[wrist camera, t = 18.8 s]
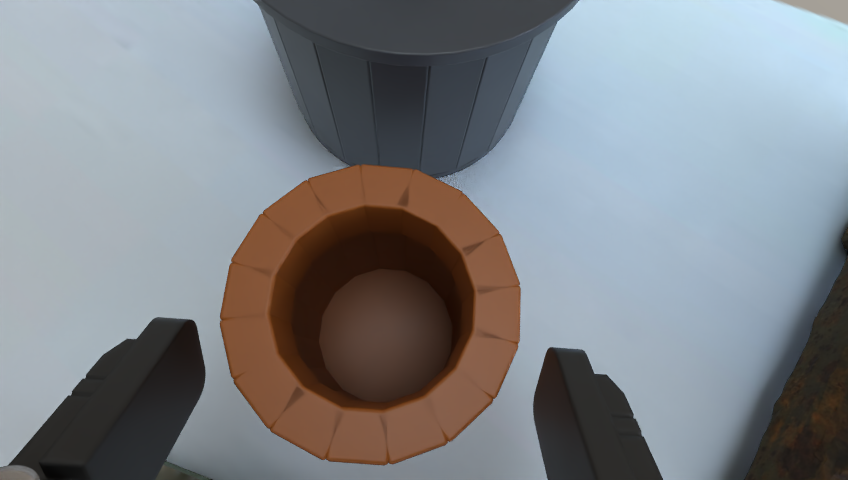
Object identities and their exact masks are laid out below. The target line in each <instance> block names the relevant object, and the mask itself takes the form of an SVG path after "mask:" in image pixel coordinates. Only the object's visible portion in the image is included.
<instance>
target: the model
mask: <svg viewBox="0 0 848 480" xmlns="http://www.w3.org/2000/svg"><path fill="white" fill-rule="evenodd" d="M155 480H211V479H209V478H206V477H204V476H201V475H199V474H196V473H194V472H191V471H189V470H186V469H184V468H181V467H179V466H176V465H174V464H171V463H169V462H166V461H165V462H164V464H163V466H162V468H161V470H160V471H159V473H158V475H157V477H156V479H155Z"/></svg>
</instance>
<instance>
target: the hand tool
mask: <svg viewBox="0 0 848 480" xmlns="http://www.w3.org/2000/svg"><path fill="white" fill-rule="evenodd" d="M841 240H842V243H843V246H844V248H845V249H846V250H847V251H848V228H847V229H846V231H845V233H844V234H843V236H842V238H841ZM744 480H848V256H847V259H846V261H845V264H844V266H843V268H842V270H841V272H840V274H839V276H838V278H837V279H836V281H835V283H834V285H833V287H832V290H831V292H830V294H829V296H828V298H827V300H826V301H825V303H824V305H823V306H822V308H821V309H820V311H819V313H818V315H817V317H815V319H814V322H813V326H812V330H811V333H810V337H809V340H808V342H807V344H806V346H805V348H804V350H803V352H802V354H801V356H800V359H799V361H798V363H797V365H796V367H795V369H794V371H793V373H792V374H791V376H790V378H789V379H788V380H787V382H786V384H785V387H784V389H783V393H782V394H781V396H780V397H779V399H778V400H777V402H776V403H775V405H774V409H773V414H772V418H771V422H770V424H769V427H768V429H767V431H766V432H765V434H764V435H763V437H762V440H761V443H760V446H759V449H758V452H757V454H756V456H755V459H754V461H753V463H752V465H751V468H750V470H749V472H748V474H747V476H746V478H745V479H744Z"/></svg>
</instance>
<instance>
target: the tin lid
mask: <svg viewBox="0 0 848 480" xmlns="http://www.w3.org/2000/svg"><path fill="white" fill-rule="evenodd" d="M254 1H255V2H256V3H257V4H258V5H259V6H260V7H261V8H262V9H263V10H264V11H265V12H266V13H267V14H269V15H270V16H271V17H273V18H274V19H276V20H277V21H278V22H280V23H281V24H283V25H284V26H285V27H287V28H288V29H289V30H291V31H293V32H295V33H297V34H298V35H300V36H302V37H304V38H306V39H307V40H309V41H311V42H313V43H315V44H318V45H320V46H323V47H325V48H328V49H330V50H333V51H335V52H338V53H340V54H344V55H347V56H351V57H355V58H358V59H362V60H366V61H371V62H377V63H384V64H391V65H397V66H439V65H452V64H459V63H464V62H469V61H474V60H479V59H483V58H486V57H489V56H492V55H495V54H499V53H502V52H505V51H508V50H510V49H512V48H514V47H516V46H518V45H520V44H523V43H525V42H527V41H529V40H531V39H533V38H534V37H536V36H537V35H539V34H540V33H542V32H543V31H545V30H547V29H548V28H550V27H551V26H553V25H554V24H555V23H556V22H557V21H559V20H560V19H561V18H562V17H563V16H564V15H565V14H567V13H568V12H569V11H570V10H571V9H572V8H573V7H574V6H575V5H576V3H577V2H578V1H579V0H254Z"/></svg>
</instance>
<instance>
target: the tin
mask: <svg viewBox="0 0 848 480" xmlns="http://www.w3.org/2000/svg"><path fill="white" fill-rule="evenodd" d="M259 7H260V6H259ZM260 9H261V12H262V15H263V17H264V20H265V22H266V25H267V27H268V30H269V32H270V35H271V38H272V40H273V43H274V45H275V48H276V50H277V53H278V55H279V58H280V61H281V63H282V66H283V68H284V71H285V73H286V76H287V79H288V81H289V84H290V86H291V89H292V91H293V94H294V96H295V99H296V102H297V104H298V107H299V109H300V111H301V112H302V114H303V116H304V118H305V120H306V122H307V123H308V125H309V127H310V129H311V130H312V132H313V133H314V134H315V136H316V137H317V138H318V140H319V141H320V142H321V143H322V144H323V145H324V146H325V147H326V148H327V149H328V150H329V151H330V152H331V153H333V154H334V155H335V156H336V157H338V158H339V159H340V160H342V161H343V162H345V163H347V164H349V165H350V166H355V165H360V166H361V165H362V164H366V165H377V166H388V167H399V168H411V169H413V170H415V169H417V170H419V171H421V172H423V173H425V174H427V175H429V176H431V177H433V178H438V177H443V176H446V175H449V174H452V173H455V172H458V171H460V170H462V169H464V168H466V167H468V166H470V165H472V164H473V163H475V162H476V161H478V160H479V159H481V158H482V157H483V156H485V155H486V154H487V153H488V152H489V151H490V150H491V149H492V148H493V147H494V146H495V145H496V144H497V143H498V142H499V140H500V139H501V138H502V137H503V135H504V134H505V132H506V130H507V129H508V128H509V126H510V125H511V123H512V121H513V119H514V116H515V114H516V112H517V110H518V107H519V105H520V103H521V101H522V99H523V96H524V94H525V92H526V90H527V88H528V85H529V83H530V81H531V79H532V77H533V74H534V72H535V70H536V68H537V66H538V63H539V61H540V59H541V57H542V54H543V52H544V50H545V48H546V46H547V43H548V41H549V39H550V37H551V35H552V32H553V30H554V28H555V26H556V24H557V22H556V23H555V24H554V25H553V26H551V27H550V28H548V29H547V30H545V31H543V32H542V33H540V34H539V35H537V36H536V37H534V38H533V39H531V40H529V41H527V42H525V43H523V44H520V45H518V46H516V47H514V48H512V49H510V50H508V51H505V52H502V53H499V54H495V55H492V56H489V57H486V58H483V59H479V60H474V61H469V62H464V63H459V64H452V65H439V66H397V65H391V64H384V63H377V62H371V61H366V60H362V59H358V58H355V57H351V56H347V55H344V54H340V53H338V52H335V51H333V50H330V49H328V48H325V47H323V46H320V45H318V44H315V43H313V42H311V41H309V40H307V39H306V38H304V37H302V36H300V35H298V34H297V33H295V32H293V31H291V30H289V29H288V28H287V27H285V26H284V25H283V24H281V23H280V22H278V21H277V20H276V19H274V18H273V17H271V16H270V15H269V14H267V13H266V12H265V11H264V10H263V9H262V8H261V7H260Z"/></svg>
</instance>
